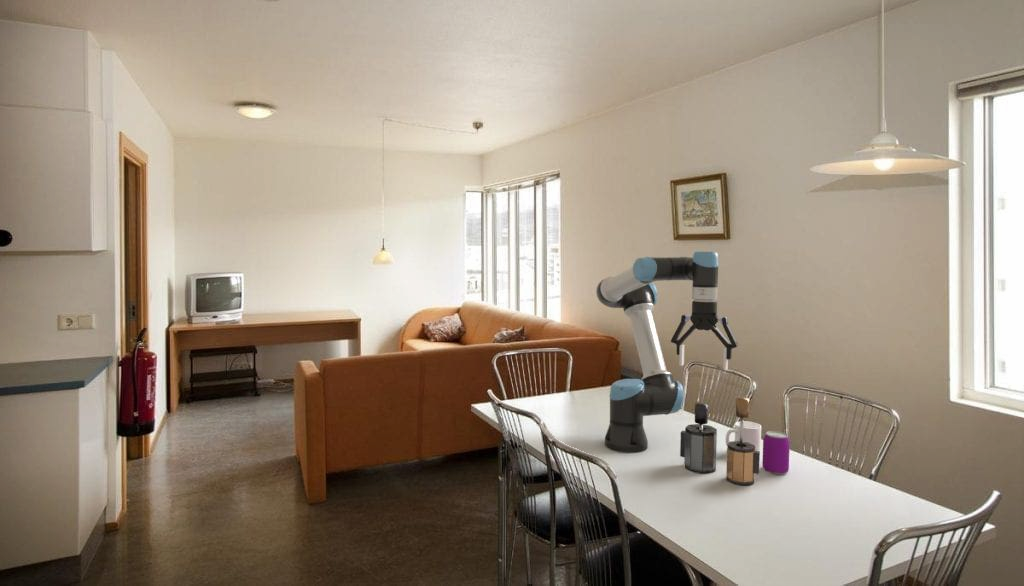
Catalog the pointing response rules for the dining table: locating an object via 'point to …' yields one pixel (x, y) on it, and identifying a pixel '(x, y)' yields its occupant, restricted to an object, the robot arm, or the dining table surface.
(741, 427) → the plunger
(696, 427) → the carafe
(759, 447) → the cup
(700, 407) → the plunger
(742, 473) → the carafe
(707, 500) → the dining table surface
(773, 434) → the beverage can
